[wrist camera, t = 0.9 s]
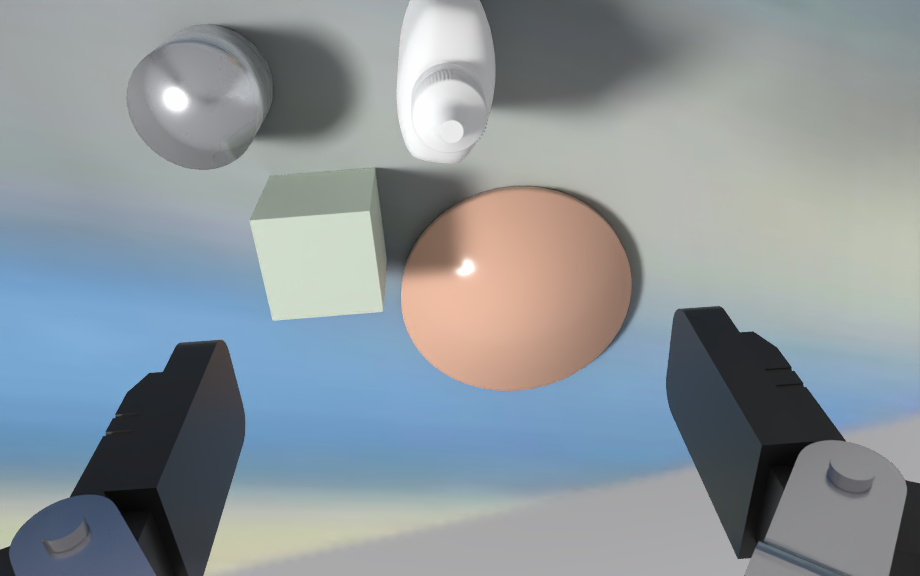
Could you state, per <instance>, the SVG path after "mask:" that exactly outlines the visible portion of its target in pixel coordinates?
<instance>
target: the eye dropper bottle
mask: <svg viewBox="0 0 920 576" xmlns="http://www.w3.org/2000/svg"><path fill="white" fill-rule="evenodd" d="M494 88H495V53H494V46H493V40H492V34H491V30H490V26H489V23H488V20H487V17H486V14H485V11H484V9H483V6H482V4H481V2H480V0H410V2H409V5H408V7H407V10H406V13H405V17H404V21H403V25H402V30H401V38H400V49H399V63H398V77H397V110H398V117H399V123H400V127H401V131H402V135H403V138H404V141H405V143H406V146H407V148H408V150H409V152H410V153H411V154H412V155H413V156H414V157H416V158H418V159H420V160H425V161H431V162H439V163H456V162H460V161H461V160H463V159H464V158H465V157H466V156H467V155H468V154H469V152H470V151H471V150H472V148H473V147H474V145H475V144H476V142H477V141H478V139H480V136H482V135H483V134H482V133H483V132H485V131H484V129H486V125H487V121H488V116H489V113H490V109H491V105H492V101H493V96H494Z"/></svg>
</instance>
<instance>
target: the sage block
mask: <svg viewBox="0 0 920 576" xmlns="http://www.w3.org/2000/svg"><path fill="white" fill-rule="evenodd" d="M250 224H251V229H252V233H253V237H254V242H255V246H256V250H257V254H258V259H259V263H260V267H261V272H262V276H263V280H264V285H265V289H266V293H267V298H268V302H269V306H270V311H271V315H272V319H273V321H274V320H286V319H298V318H311V317H323V316H336V315H348V314H360V313H373V312H383V310H384V296H385V281H386V267H387V256H386V248H385V241H384V233H383V225H382V217H381V210H380V202H379V194H378V186H377V179H376V171H375V168H363V169H350V170H337V171H325V172H312V173H299V174H287V175H274V176H269V179H268V181H267V183H266V185H265V188H264V190H263V192H262V194H261V196H260V199H259V201H258V203H257V205H256V207H255V210H254V212H253V214H252V216H251V218H250Z"/></svg>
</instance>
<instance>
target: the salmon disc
mask: <svg viewBox="0 0 920 576" xmlns="http://www.w3.org/2000/svg"><path fill="white" fill-rule="evenodd" d="M631 291H632V277H631V271H630V265H629V262H628V258H627V255H626V252H625V250H624V248H623V246H622V245H621V243H620V241H619V239H618V237H617V235H616V233H615V232H614V230H613V229H612V228H611V226H610V225H609V224H608V222H607V221H606V220H605V219H604V218H603V217H602V216H601V215H600V214H599V213H598V212H597V211H595V210H594V209H593V208H591V207H590V206H589V205H587V204H586V203H584V202H582V201H580V200H578V199H577V198H575V197H573V196H570V195H568V194H565V193H562V192H560V191H556V190H552V189H547V188H542V187H533V186H511V187H504V188H497V189H493V190H489V191H485V192H481V193H479V194H476V195H474V196H471V197H469V198H466V199H464V200H462V201H461V202H459V203H457V204H455V205H453V206H452V207H450V208H449V209H447V210H446V211H445V212H443V213H442V214H441V215H439V216H438V217H437V218H436V219H435V220H434V221H433V222H432V223H431V224H430V225H429V226H428V227H427V228H426V229H425V230H424V232H423V233H422V234H421V235H420V237H419V238H418V240H417V241H416V243H415V245H414V246H413V248H412V250H411V252H410V254H409V257H408V259H407V261H406V264H405V268H404V272H403V277H402V286H401V307H402V314H403V318H404V323H405V325H406V328H407V331H408V334H409V335H410V337H411V339H412V341H413V343H414V344H415V346H416V347H417V348H418V350H419V351H420V352H421V354H422V355H423V356H424V357H425V358H426V359H427V360H428V361H429V362H430V363H431V364H432V365H434V366H435V367H436V368H437V369H439V370H440V371H441V372H443V373H445V374H446V375H448V376H450V377H452V378H454V379H456V380H458V381H461V382H463V383H465V384H469V385H472V386H475V387H479V388H484V389H490V390H501V391H515V390H526V389H533V388H537V387H541V386H545V385H549V384H552V383H554V382H557V381H560V380H562V379H564V378H566V377H568V376H571V375H573V374H574V373H576V372H578V371H579V370H581V369H582V368H584V367H585V366H587V365H588V364H589V363H591V362H592V361H593V360H595V359H596V358H597V357H598V356H599V355H600V354H601V353H602V352H603V351H604V350H605V349H606V348H607V346H608V345H609V344H610V343H611V341H612V340H613V339H614V337H615V336H616V334H617V333H618V331H619V329H620V328H621V326H622V324H623V321H624V319H625V317H626V314H627V311H628V307H629V304H630V298H631Z"/></svg>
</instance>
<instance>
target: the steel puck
mask: <svg viewBox="0 0 920 576" xmlns="http://www.w3.org/2000/svg"><path fill="white" fill-rule="evenodd" d="M272 100H273V79H272V75H271V72H270V69H269V66H268V64H267V62H266V60H265V59H264V57H263V55H262V54H261V53H260V51H259V50H258V49H257V48H256V47H255V45H254V44H252V43H251V42H250V41H249V40H248V39H247V38H245V37H244V36H242V35H241V34H239V33H237V32H235V31H234V30H231V29H229V28H226V27H222V26H218V25H211V24H202V25H195V26H191V27H188V28H186V29H184V30H181V31H180V32H178V33H177V34H175V35H174V36H173V37H171V38H170V39H169V40H167V41H166V42H165V43H163V44H162V45H161V46H159V47H158V48H157V49H155V50H154V51H153V52H151V53H150V54H149V55H147V56H146V57H145V58H144V59H143V60H142V61H141V62H140V63H139V64H138V65H137V66H136V68H135V69H134V71H133V73H132V75H131V77H130V80H129V83H128V88H127V107H128V111H129V115H130V118H131V121H132V123H133V125H134V127H135V129H136V131H137V133H138V134H139V136H140V137H141V138H142V140H143V141H144V142H145V143H146V144H147V145H148V146H149V147H150V148H151V149H152V150H153V151H154V152H155V153H157V154H158V155H159V156H161V157H163V158H164V159H166V160H167V161H170V162H172V163H174V164H176V165H179V166H182V167H186V168H190V169H199V170H207V169H215V168H219V167H222V166H225V165H227V164H230V163H231V162H233V161H235V160H236V159H238V158H239V157H240V156H241V155H242V154H243V153H244V152H245V151H246V150H247V148H248V147H249V145H250V144H251V142H252V140H253V139H254V137H255V135H256V133H257V131H258V130H259V128H260V126H261V124H262V123H263V121H264V119H265V117H266V115H267V114H268V111H269V109H270V107H271V104H272Z"/></svg>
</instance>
